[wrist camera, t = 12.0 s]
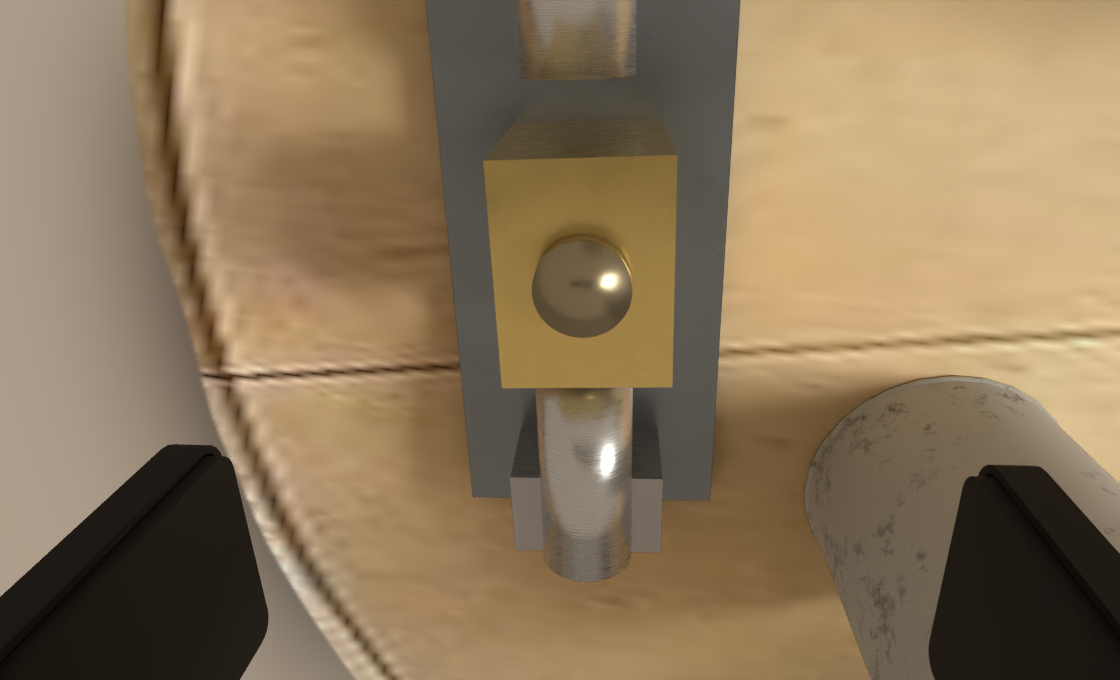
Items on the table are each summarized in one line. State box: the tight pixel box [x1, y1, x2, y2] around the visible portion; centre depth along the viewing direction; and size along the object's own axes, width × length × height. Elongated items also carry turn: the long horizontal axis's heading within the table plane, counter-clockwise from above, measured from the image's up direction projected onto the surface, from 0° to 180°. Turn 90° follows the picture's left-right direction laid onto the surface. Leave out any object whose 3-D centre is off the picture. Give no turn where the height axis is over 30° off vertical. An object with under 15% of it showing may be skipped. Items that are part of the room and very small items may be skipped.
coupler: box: [483, 118, 678, 388], centre depth 21 cm, size 6×4×7 cm
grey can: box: [805, 375, 1120, 680], centre depth 23 cm, size 10×10×12 cm
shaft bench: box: [426, 0, 740, 582], centre depth 22 cm, size 22×9×6 cm, turn 2°
